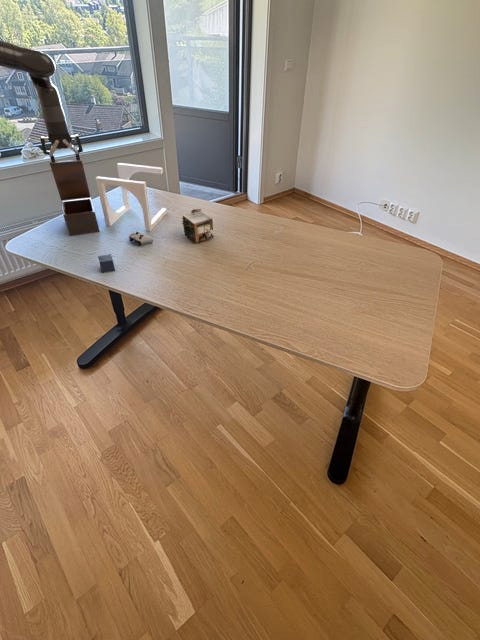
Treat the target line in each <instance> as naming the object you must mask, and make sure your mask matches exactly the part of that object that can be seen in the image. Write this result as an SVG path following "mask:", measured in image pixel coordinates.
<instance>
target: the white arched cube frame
mask: <svg viewBox="0 0 480 640" xmlns="http://www.w3.org/2000/svg"><path fill="white" fill-rule="evenodd" d="M116 167H117V174H118V178H116V177H109V176H108V177H107V176H99V175H98V176H96V177H95V183H96V187H97V192H98V195H99V200H100V204H101V209H102V214H103V218H104V222H105V226H107V227H111V226H112V225H114V224H115V223H116V222H117V221H118V220H119V219H120V218H121V217H122V216H124V215H125V214H126V213H127V212H128V211H130V209H131V208H132V207H131V201H130V195H129V192H130V193H131V194H132V195H133V196H134V197H135V198H136V199H137V202H138V203H139V204H140V206H141V207H140V208H141V210H142V214H143V221H144V222H143V223H144V229H145V232H150V233H151V232H152V230H153V229H154V228H155V227H157V225H158V224H159V222H160V221H162V220H163V218H164V217H165V216H166V215H167V213H168V209H167V208H166V207H162V208H161V209H160V210H159V211H158V212H157V213H156V214H155V215H154V216H153V218H151V211H150V204H149V195H148V188H147V182H146V181H141V180H132V179H130V178H131V177H132V176H133V175H134V174H136V173H150V174H157V175H162V174H163V173H164V167H159V166H151V165H143V164H132V163H126V162H125V163H124V162H117V164H116ZM106 185H108V186H109V185H110V186H117V187H120V189H121V195H122V202H123V205H122V206H121V207H120V208H118V210H116V211H115V210H114V209H113V208H112V206H111V205H110V203H109V199H108V196H107V191H106Z"/></svg>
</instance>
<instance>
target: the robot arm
mask: <svg viewBox="0 0 480 640" xmlns="http://www.w3.org/2000/svg"><path fill="white" fill-rule="evenodd" d="M0 67H1V68H5V69H9V70H14V71H20V72H25V73H28V76H29V78H30V80H31V82H32V84H33V87H34V88H35V91H36V95H37V98H38V101H39V105H40V109H41V111H40V112H41V114H42V119H43V121H44V125H45V129H46V133H47V136H43V135H40V136H39V139H40V143H41V148H42V152H43V155H46V156H49V158H50V162H57V161H56V158H55V151H56V149H58V150H61V149H64V150H65V149H68V148H69V149H70V150H71V151H72V152H73V153H74V155H75V161H76V160H81V157H80V153H83V152H84V149H83V147H82V142H81V138H80V136H79V134H77V133H76V134H74V135H71V133H70V130H69V126H68V122H67V118H66V115H65V111H64V108H63V105H62V101H61V97H60V94H59V91H58V88H57V87H56V86H55V85H54V84H53V82H52V80H51V77H53V76H54V75H55V73H56V70H57V69H56V68H57V67H56V63H55V61H54V60H53V58H52V57H51V56H50V55H49V54H48V53H46V52H43V51H40V50H39V51H38V50H35V49H30V48H26V47H21V46H19V45H16V44H13V43H11V42H9V41H4V40H2V39H0ZM72 140H73V141H74V142H75V143H77V146H78V147H77V148H76V147H75V146H74V145H73V144H72ZM48 142H49V143H50V144H51V146H50V149H49V150H47V146H46V145H47V143H48Z"/></svg>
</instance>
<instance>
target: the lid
mask: <svg viewBox="0 0 480 640" xmlns="http://www.w3.org/2000/svg"><path fill="white" fill-rule="evenodd" d="M83 164H84V163H83V160H82V159H80V160H76V159H75V160H74V159H72V160H59V161H56V162H52V161H50V162H49V166H50V169H51V173H52V175H53V179H54V182H55V186H56V189H57V192H58V195H59V198H60V201H68V200H77V199H86V198H91V193H90V189H89V188H90V187H89V184H88V180H87V177H86V172H85V167H84V165H83Z"/></svg>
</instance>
